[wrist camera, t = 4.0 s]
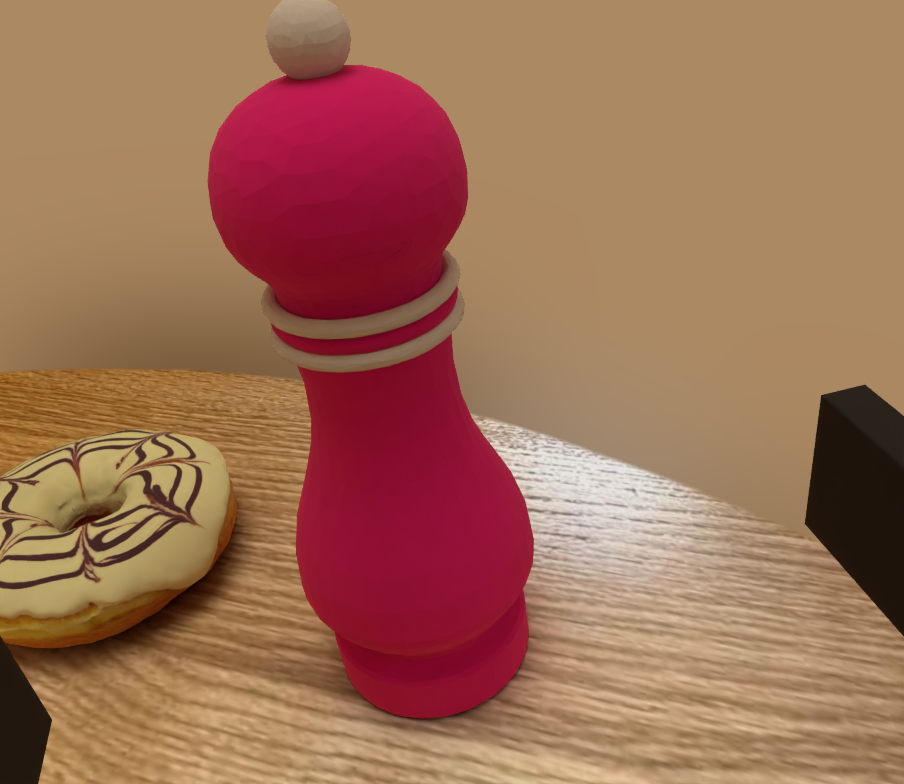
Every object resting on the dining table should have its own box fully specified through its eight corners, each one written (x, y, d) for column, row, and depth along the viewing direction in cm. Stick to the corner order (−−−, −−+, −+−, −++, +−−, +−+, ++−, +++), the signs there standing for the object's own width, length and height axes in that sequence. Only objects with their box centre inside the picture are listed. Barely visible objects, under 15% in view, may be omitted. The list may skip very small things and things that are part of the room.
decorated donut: (268, 603, 31) (241, 526, 29) (-44, 718, 28) (-98, 643, 26) (226, 452, 39) (202, 384, 37) (-18, 530, 37) (-58, 462, 35)
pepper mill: (397, 781, 24) (187, 50, 14) (295, 629, 30) (86, 19, 19) (589, 651, 27) (543, -36, 16) (465, 535, 33) (368, -42, 22)
